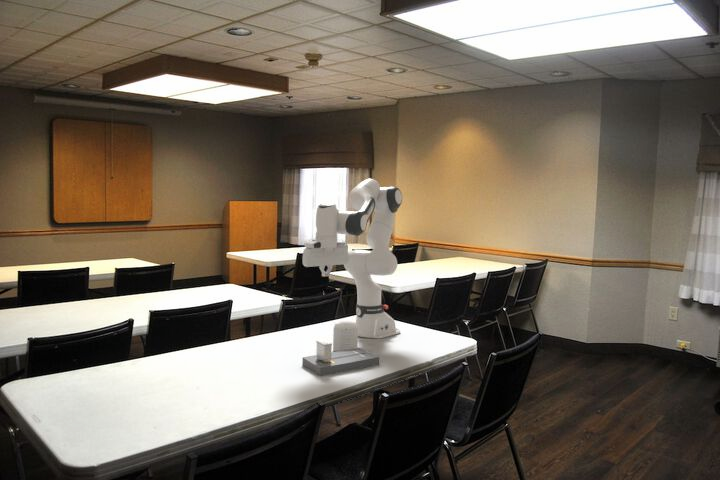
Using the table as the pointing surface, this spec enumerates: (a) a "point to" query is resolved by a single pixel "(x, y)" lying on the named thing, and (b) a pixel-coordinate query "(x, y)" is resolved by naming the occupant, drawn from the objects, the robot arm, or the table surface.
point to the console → (341, 361)
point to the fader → (324, 350)
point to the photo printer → (345, 336)
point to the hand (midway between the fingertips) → (325, 276)
